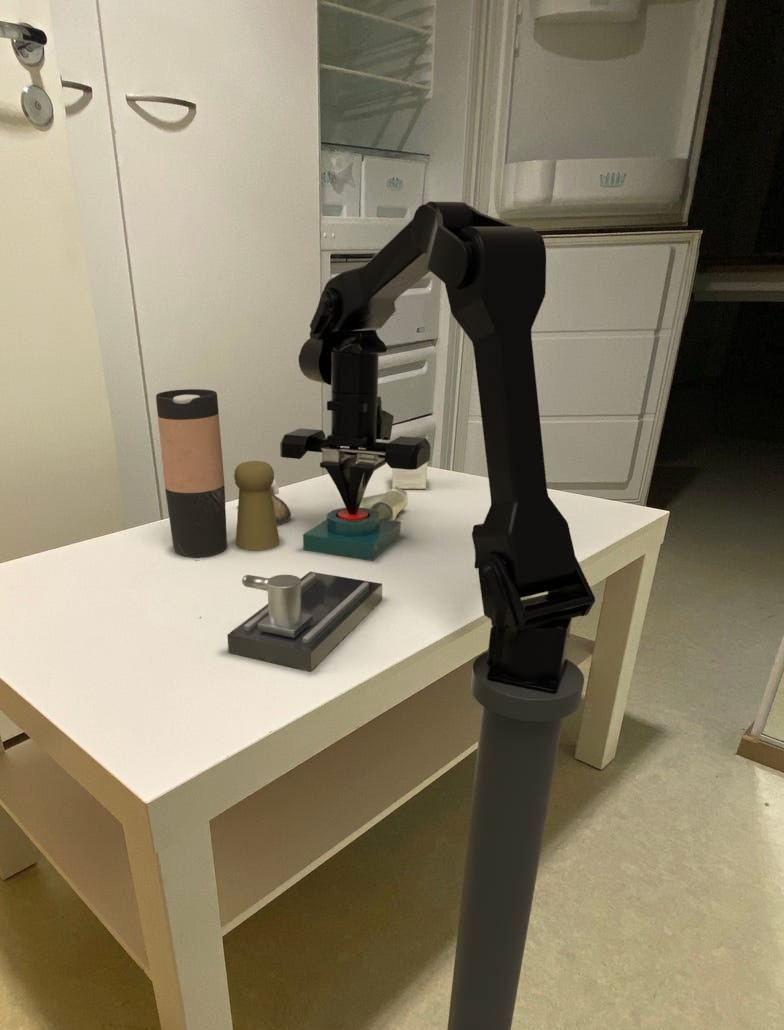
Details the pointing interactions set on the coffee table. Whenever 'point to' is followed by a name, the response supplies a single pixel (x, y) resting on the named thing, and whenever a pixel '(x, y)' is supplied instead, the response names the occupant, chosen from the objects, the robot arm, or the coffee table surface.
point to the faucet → (281, 604)
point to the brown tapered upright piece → (255, 507)
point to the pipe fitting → (387, 503)
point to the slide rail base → (333, 619)
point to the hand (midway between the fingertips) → (353, 513)
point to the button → (358, 516)
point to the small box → (410, 478)
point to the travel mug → (193, 470)
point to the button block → (352, 535)
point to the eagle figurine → (278, 505)
